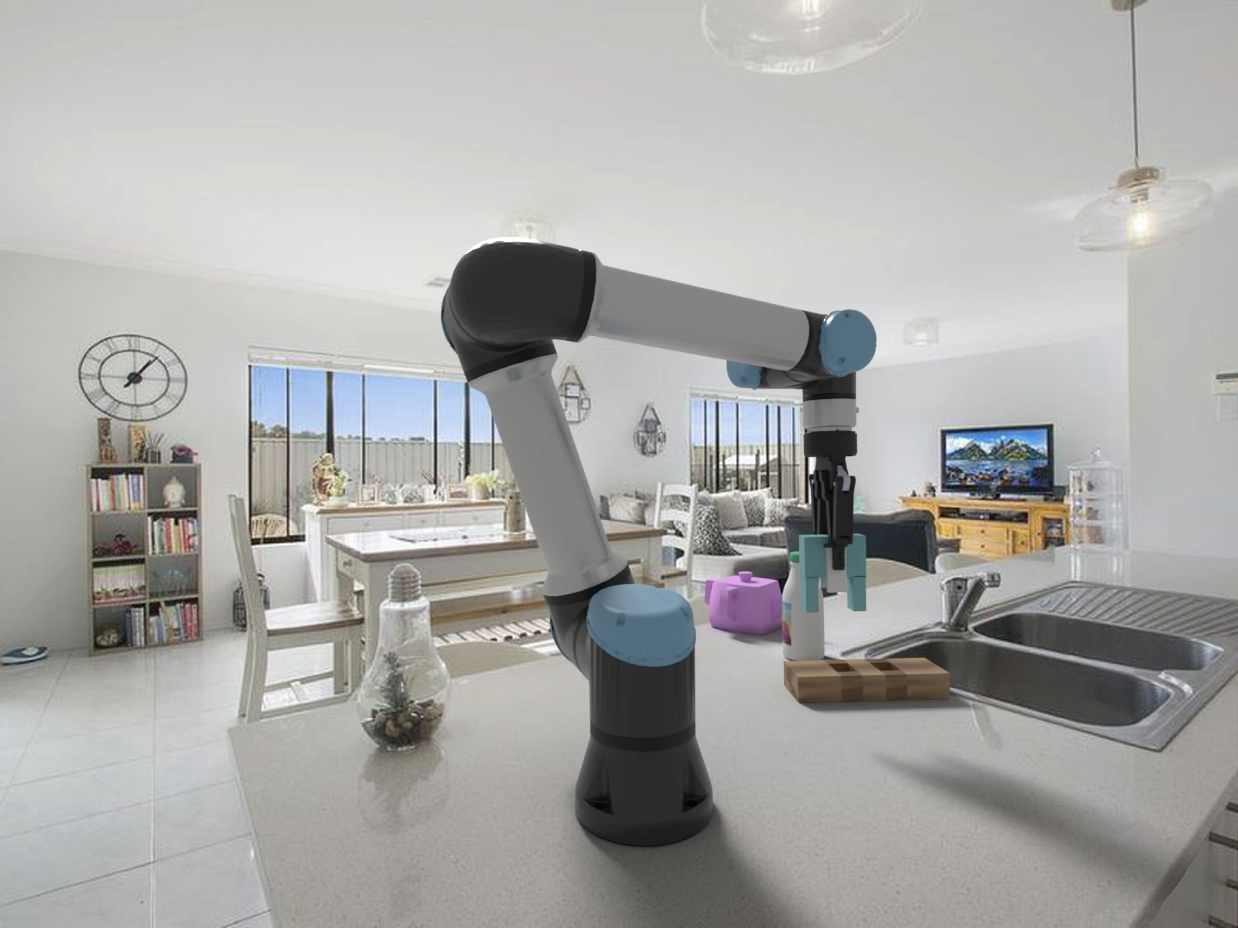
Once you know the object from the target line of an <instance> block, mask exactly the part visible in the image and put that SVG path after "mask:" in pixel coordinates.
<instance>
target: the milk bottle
mask: <svg viewBox="0 0 1238 928" xmlns="http://www.w3.org/2000/svg"><path fill="white" fill-rule="evenodd" d="M789 561H790V562H789V564H790V565H791V566H790V567H791V568H790V571H789V575H788V578H787V580H786V583H785V585H784V587H783V592H782V593H783V599H782V626H781V627H782V629H781V630H782V632H781V633H782V654H783V656H784V657H785V658H787V659H789V660H790V661H808V660H824V657H825V607H824V595H823V594H824V593H823V589H822V588H820V587H819V582H818V606H819V612H814V613H806V612H805V611H803V610H802V609H801V583H800V565H799V550H798V551H792V552H789Z"/></svg>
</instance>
